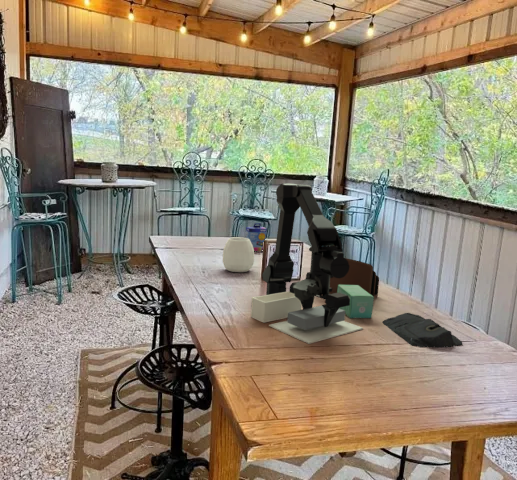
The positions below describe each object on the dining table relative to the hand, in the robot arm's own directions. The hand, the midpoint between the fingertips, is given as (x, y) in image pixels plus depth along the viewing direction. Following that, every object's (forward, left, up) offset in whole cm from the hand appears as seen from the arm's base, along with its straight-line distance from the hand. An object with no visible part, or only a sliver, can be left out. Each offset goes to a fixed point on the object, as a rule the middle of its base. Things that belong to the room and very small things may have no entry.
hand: (316, 322), depth 143 cm
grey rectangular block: (0, 0, 0) cm, 1 cm away
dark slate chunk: (+19, +23, -2) cm, 30 cm away
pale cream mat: (0, 0, -1) cm, 1 cm away
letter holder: (-20, +36, -2) cm, 42 cm away
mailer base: (-14, -3, -1) cm, 14 cm away
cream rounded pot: (-68, +23, -2) cm, 72 cm away
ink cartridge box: (-100, +58, -2) cm, 116 cm away
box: (-5, +22, -2) cm, 22 cm away
